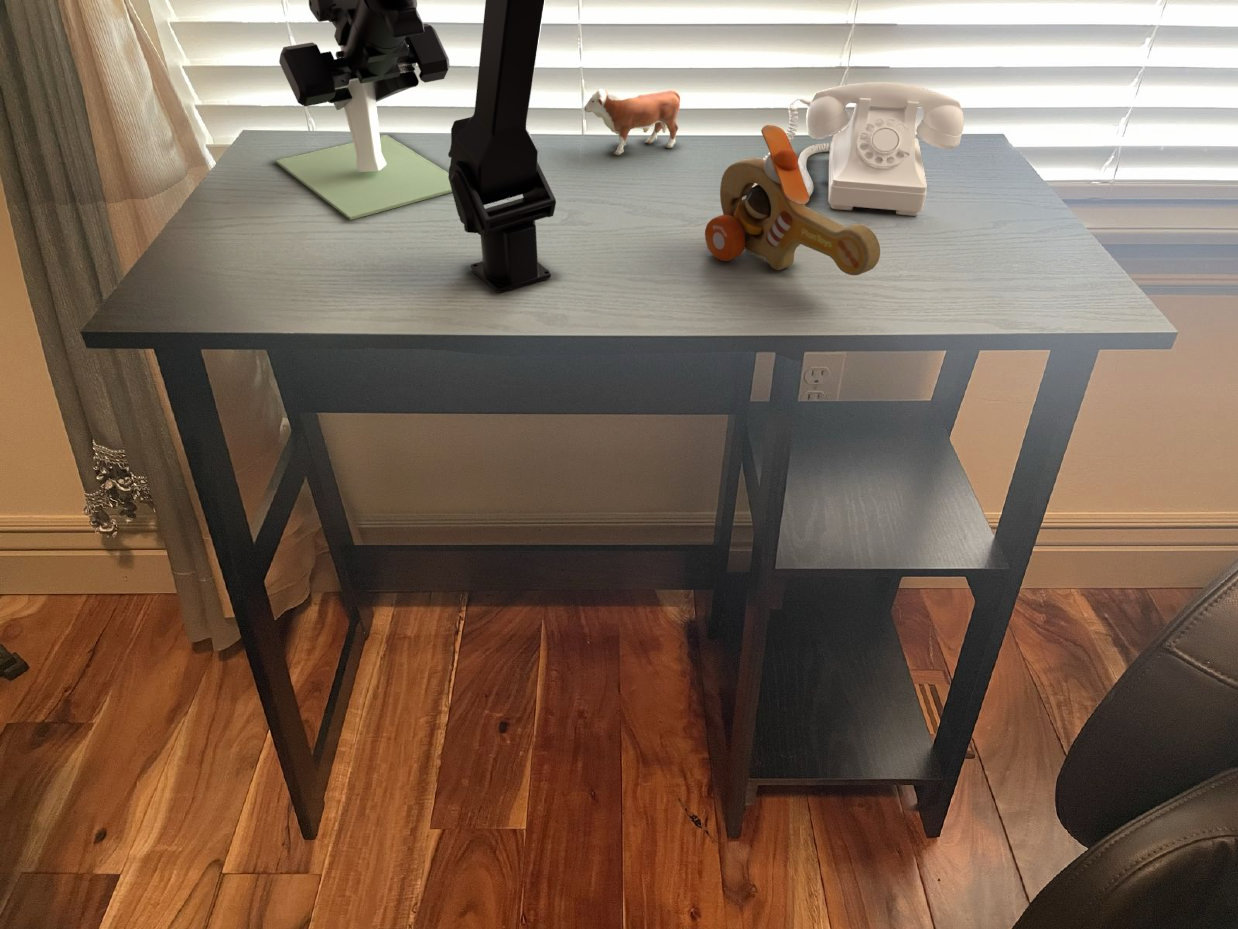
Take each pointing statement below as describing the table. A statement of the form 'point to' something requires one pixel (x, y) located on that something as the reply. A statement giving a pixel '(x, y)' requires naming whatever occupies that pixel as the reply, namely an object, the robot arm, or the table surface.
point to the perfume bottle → (364, 126)
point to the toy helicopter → (781, 215)
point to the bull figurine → (636, 113)
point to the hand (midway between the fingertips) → (354, 102)
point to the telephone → (877, 142)
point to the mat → (368, 178)
